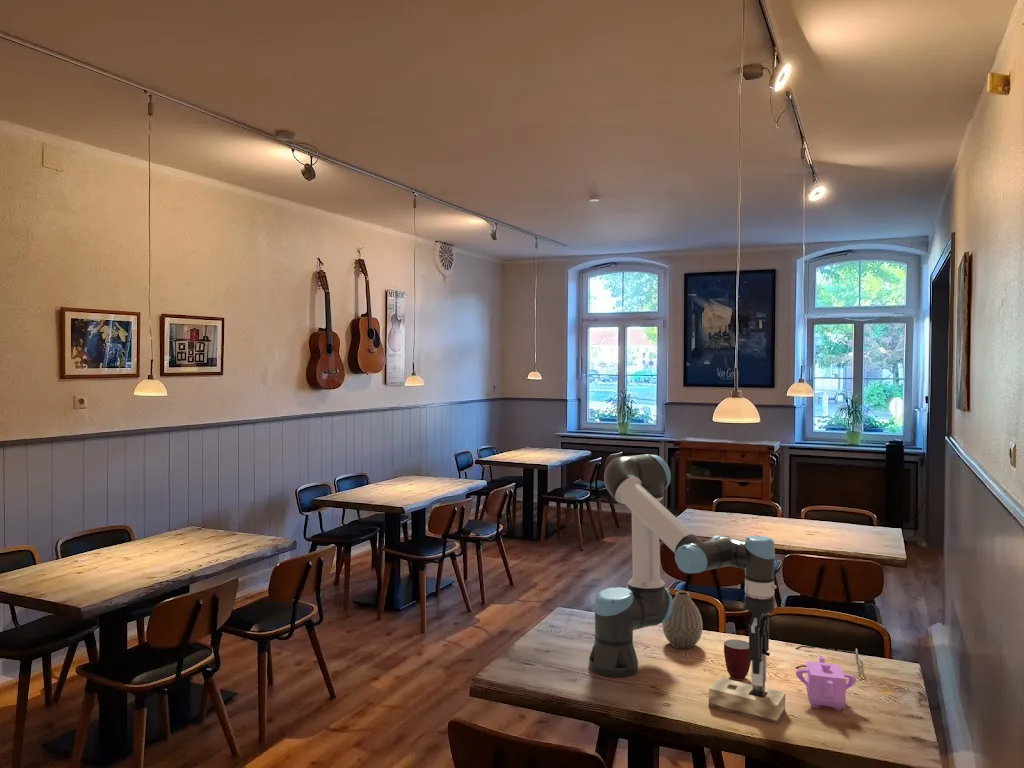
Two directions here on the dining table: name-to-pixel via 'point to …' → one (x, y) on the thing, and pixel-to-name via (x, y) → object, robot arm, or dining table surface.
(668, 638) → the vase
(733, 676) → the mug
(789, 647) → the dining table surface
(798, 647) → the eyeglasses
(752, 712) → the block
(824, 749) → the dining table surface
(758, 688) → the pin
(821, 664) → the teapot
